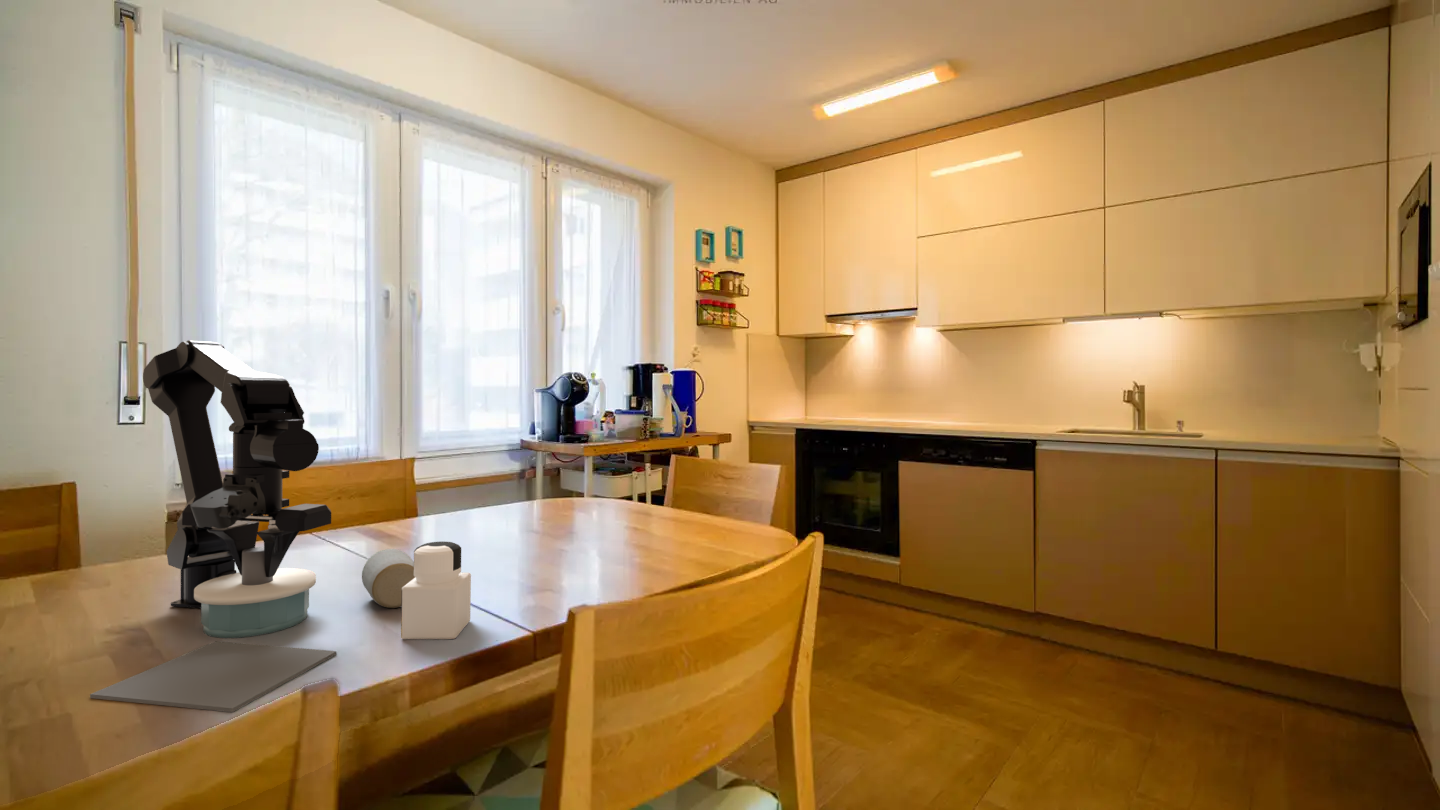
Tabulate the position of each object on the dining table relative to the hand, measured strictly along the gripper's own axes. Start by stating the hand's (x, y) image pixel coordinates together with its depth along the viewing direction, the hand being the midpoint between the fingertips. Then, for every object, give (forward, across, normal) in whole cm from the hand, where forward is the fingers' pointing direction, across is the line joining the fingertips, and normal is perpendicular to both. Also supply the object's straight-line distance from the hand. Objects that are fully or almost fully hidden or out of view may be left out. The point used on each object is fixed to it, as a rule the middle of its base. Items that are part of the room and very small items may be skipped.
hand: (257, 575), depth 93 cm
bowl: (+6, 0, 0) cm, 6 cm away
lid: (+2, 0, 0) cm, 2 cm away
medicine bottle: (+7, +26, +2) cm, 27 cm away
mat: (+6, +10, -16) cm, 20 cm away
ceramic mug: (+7, +14, +13) cm, 20 cm away
